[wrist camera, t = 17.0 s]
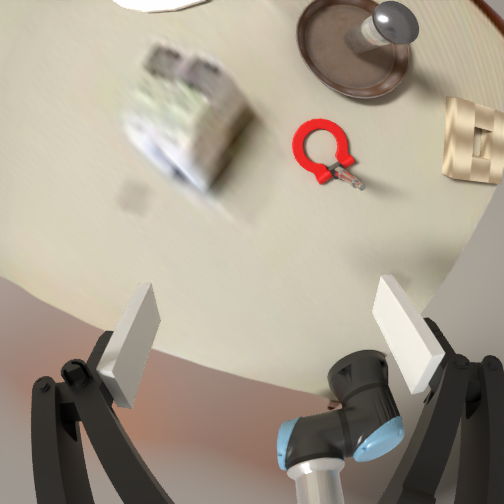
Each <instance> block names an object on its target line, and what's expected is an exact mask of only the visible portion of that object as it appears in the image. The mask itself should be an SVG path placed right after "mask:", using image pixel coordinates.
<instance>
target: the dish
mask: <svg viewBox="0 0 504 504" xmlns="http://www.w3.org/2000/svg"><path fill="white" fill-rule="evenodd" d="M113 1H115V2H116V3H118V4H119V5H121V6H122V7H124V8H125V9H130V10H136V11H140V12H145V13H154V12H165V11H176V10H179V9H182V8H185V7H189V6H192V5H195V4H198V3H202V2H205V1H206V0H113Z"/></svg>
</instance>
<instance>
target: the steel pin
mask: <svg viewBox="0 0 504 504" xmlns="http://www.w3.org/2000/svg"><path fill="white" fill-rule="evenodd" d="M418 33H419V25H418V22H417V19H416V17H415V16H414V14H413V13H412V12H411V11H410V10H409V9H408V8H407V7H406V6H404V5H403V4H401V3H398V2H395V1H386V2H383V3H381V4H380V5H378V6H377V7H376V8H375V9H374V11H373V15H372V16H370V17H368V18H367V19H365V20H364V21H362V22H360V23H359V24H357V25H355V26H354V27H352V28H351V29H349V30H348V31H347V32H346V33H345V35H344V42H345V44H346V46H347V47H348V48H349V49H350V50H351V51H353V52H356V53H363V52H366V51H369V50H372V49H375V48H377V47H380V46H383V45H386V44H389V43H393V44H397V45H404V44H408V43H411V42H413V41H414V40H415V39H416V38H417V36H418Z"/></svg>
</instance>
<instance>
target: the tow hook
mask: <svg viewBox="0 0 504 504" xmlns="http://www.w3.org/2000/svg"><path fill="white" fill-rule="evenodd" d="M315 129H325V130H327V131H329V132H331V133H332V134H333V135H334V137H335V138H336V141H337V152H336V154H335V157H336V158H337V160H338V161H339V162H337V163H335V164H334V165H332V166H330V167H329V168H326V167H325V165H324V164H318V163H314V162H312V161H310V160H309V159H308V158H307V157H306V156H305V154H304V151H303V141H304V139H305V137H306V135H307V134H308V133H309V132H311V131H312V130H315ZM292 148H293V154H294V156H295V159H296V160H297V161H298V163H299V164H300V165H301V166H302V167H303V168H304V169H306V170H307V171H310V172H312V173H314V174H315V176H316V179H317V181H318V182H319V184H320V185H321V184H323V183H324V182H326V181H327V180H329V179H330V178H332V177H333V178H334V179H338V178H340V179H342V180H344V181H346V182H347V183H349V184H350V185H351V186H353V187H354V188H358V189H360V190H364V189H365V185H364V184H362V183H361V182H360V180H359V179H357V178H356V177H354V176H353V175H351V174H349V173H348V171H346V170H345V169H346V168H347V167H349V166H350V165H352V164H353V163H355V160H354V158H353V157H352V156H351V155H349V153H348V152H347V150H348V144H347V139H346V136H345V134H344V132H343V131H342V129H341V128H340V127H339V126H338V125H336V124H335V123H333V122H331V121H329V120H325V119H313V120H310V121H307V122H305V123H304V124H303V125H301V126H300V127H299V128H298V130H297V131H296V133H295V135H294V137H293V142H292Z"/></svg>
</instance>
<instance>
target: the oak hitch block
mask: <svg viewBox="0 0 504 504" xmlns="http://www.w3.org/2000/svg"><path fill="white" fill-rule="evenodd" d="M474 127H477V128H481V129H482V134H481V148H480V156H476V155H472V154H473V142H474ZM503 166H504V113H503V112H500V111H497V110H494V109H492V108H489V107H486V106H483V105H480V104H477V103H474V102H470V101H467V100H464V99H460V98H454V97H446V129H445V146H444V158H443V168H442V174H444V175H446V176H449V177H451V178H453V179H462V180H471V181H479V182H487V183H495V184H501V181H502V174H503Z"/></svg>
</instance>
